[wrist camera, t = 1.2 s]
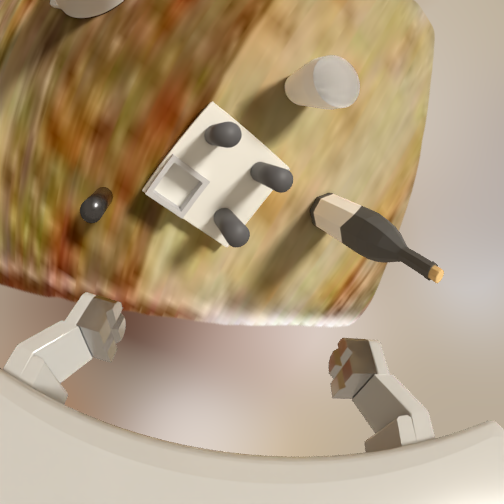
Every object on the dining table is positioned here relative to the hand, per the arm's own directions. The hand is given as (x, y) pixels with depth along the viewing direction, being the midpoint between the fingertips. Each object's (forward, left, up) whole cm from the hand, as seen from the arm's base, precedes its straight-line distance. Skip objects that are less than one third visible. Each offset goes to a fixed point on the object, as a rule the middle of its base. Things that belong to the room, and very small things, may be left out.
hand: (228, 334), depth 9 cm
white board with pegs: (+1, +7, -40) cm, 40 cm away
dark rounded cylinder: (+1, -13, -40) cm, 42 cm away
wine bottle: (+11, +29, -40) cm, 51 cm away
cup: (-14, +24, -40) cm, 49 cm away
